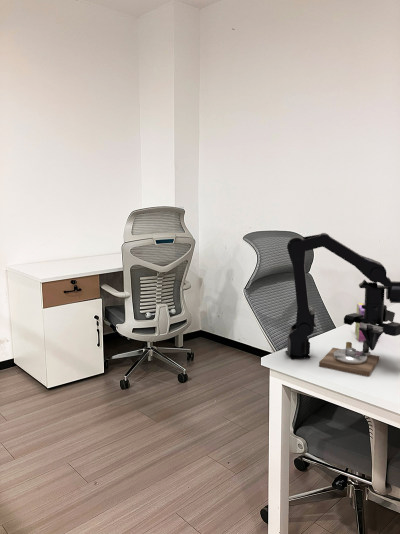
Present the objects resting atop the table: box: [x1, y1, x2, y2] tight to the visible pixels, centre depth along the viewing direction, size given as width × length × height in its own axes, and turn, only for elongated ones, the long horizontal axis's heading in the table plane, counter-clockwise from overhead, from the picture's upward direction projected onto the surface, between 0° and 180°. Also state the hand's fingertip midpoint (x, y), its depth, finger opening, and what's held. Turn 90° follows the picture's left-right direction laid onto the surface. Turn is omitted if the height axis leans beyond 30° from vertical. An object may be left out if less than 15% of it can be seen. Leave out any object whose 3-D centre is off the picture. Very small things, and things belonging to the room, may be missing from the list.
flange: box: [334, 340, 371, 364], centre depth 149 cm, size 12×10×5 cm
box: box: [354, 302, 366, 343], centre depth 173 cm, size 10×6×12 cm, turn 168°
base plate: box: [318, 341, 380, 378], centre depth 148 cm, size 15×15×4 cm
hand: (372, 350), depth 149 cm, fingers closed
